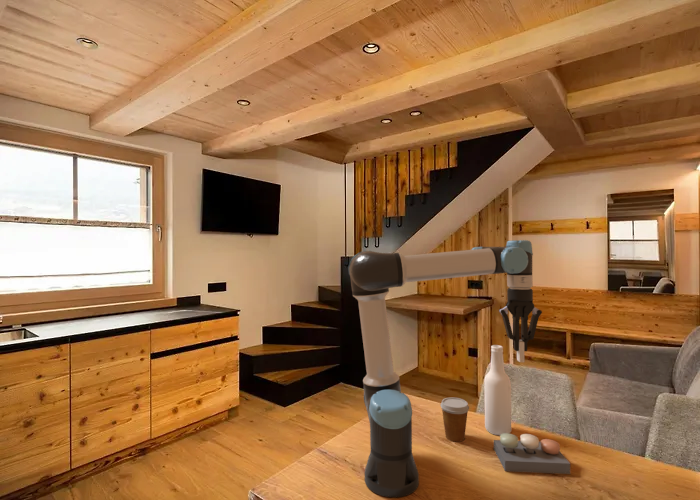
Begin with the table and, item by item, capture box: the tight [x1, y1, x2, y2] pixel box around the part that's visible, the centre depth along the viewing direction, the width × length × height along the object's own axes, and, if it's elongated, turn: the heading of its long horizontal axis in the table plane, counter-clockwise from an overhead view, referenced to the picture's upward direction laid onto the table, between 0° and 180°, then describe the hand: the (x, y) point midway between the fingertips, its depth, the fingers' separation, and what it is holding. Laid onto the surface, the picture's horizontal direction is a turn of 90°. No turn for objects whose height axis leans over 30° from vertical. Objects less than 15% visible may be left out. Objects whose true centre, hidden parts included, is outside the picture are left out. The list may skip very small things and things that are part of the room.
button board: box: [493, 439, 571, 475], centre depth 115 cm, size 18×12×3 cm, turn 84°
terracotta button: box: [540, 438, 561, 455], centre depth 114 cm, size 5×5×5 cm
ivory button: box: [519, 433, 540, 454], centre depth 115 cm, size 5×5×5 cm
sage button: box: [499, 433, 519, 453], centre depth 115 cm, size 5×5×5 cm
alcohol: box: [483, 344, 512, 437], centre depth 134 cm, size 9×9×30 cm
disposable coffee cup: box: [440, 397, 470, 442], centre depth 129 cm, size 10×10×12 cm
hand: (520, 360), depth 121 cm, fingers closed
